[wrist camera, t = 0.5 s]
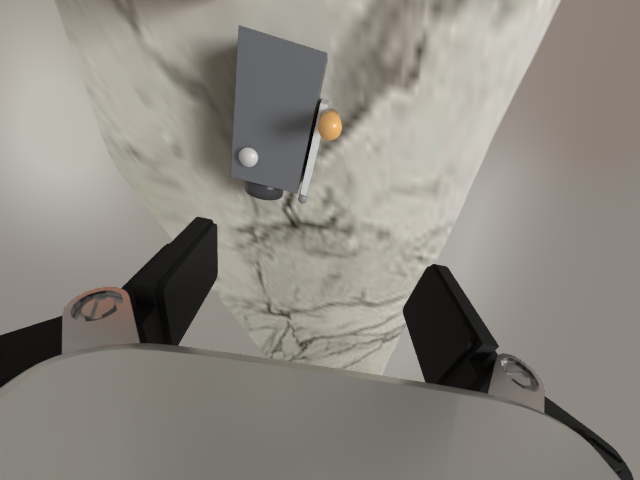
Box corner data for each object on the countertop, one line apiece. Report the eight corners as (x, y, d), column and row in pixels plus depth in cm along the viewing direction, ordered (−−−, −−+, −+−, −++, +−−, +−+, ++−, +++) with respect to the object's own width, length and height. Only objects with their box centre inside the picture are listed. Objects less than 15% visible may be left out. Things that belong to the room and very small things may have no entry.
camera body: (260, 38, 28) (235, 23, 21) (327, 59, 29) (326, 52, 22) (247, 176, 37) (227, 199, 30) (299, 189, 38) (292, 215, 30)
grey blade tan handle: (321, 98, 31) (317, 107, 20) (339, 103, 31) (345, 115, 20) (303, 180, 37) (292, 222, 26) (318, 184, 37) (314, 227, 26)
